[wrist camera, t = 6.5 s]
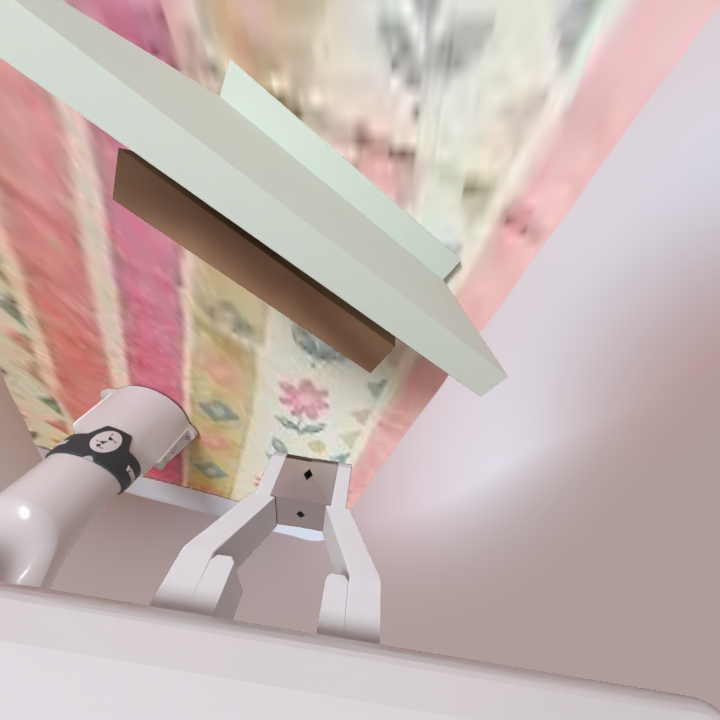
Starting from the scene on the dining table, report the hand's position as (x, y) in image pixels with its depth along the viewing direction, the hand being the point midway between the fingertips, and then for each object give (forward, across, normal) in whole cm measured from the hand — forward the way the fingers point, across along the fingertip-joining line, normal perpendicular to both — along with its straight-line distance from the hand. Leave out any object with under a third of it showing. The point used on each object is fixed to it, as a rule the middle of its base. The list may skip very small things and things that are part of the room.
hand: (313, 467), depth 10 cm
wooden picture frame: (+25, +6, -3) cm, 26 cm away
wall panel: (+29, +4, -7) cm, 30 cm away
